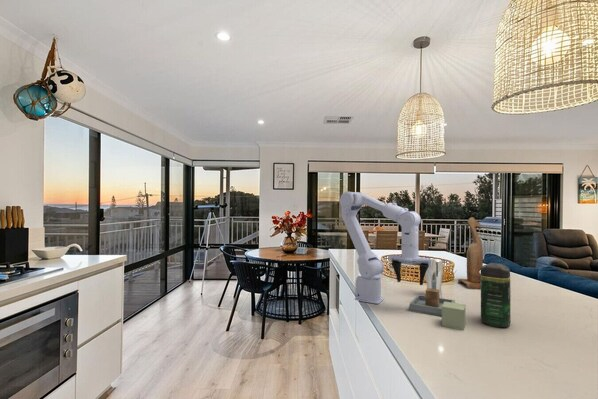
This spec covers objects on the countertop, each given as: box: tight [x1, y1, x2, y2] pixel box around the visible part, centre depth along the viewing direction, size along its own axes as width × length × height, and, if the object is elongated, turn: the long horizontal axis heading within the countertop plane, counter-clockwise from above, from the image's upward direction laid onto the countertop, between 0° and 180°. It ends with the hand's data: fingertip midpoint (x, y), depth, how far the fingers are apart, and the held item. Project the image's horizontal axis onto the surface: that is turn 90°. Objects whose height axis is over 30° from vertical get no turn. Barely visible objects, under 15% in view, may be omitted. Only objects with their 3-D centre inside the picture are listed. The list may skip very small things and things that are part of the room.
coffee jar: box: [480, 262, 512, 328], centre depth 96 cm, size 10×8×19 cm
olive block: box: [441, 301, 467, 331], centre depth 94 cm, size 6×6×6 cm
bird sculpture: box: [457, 216, 484, 290], centre depth 140 cm, size 11×12×32 cm
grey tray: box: [409, 294, 456, 317], centre depth 109 cm, size 13×13×2 cm
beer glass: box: [424, 258, 444, 298], centre depth 123 cm, size 7×7×15 cm
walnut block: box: [424, 287, 439, 308], centre depth 109 cm, size 4×4×6 cm
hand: (410, 283), depth 109 cm, fingers open, 7 cm apart
